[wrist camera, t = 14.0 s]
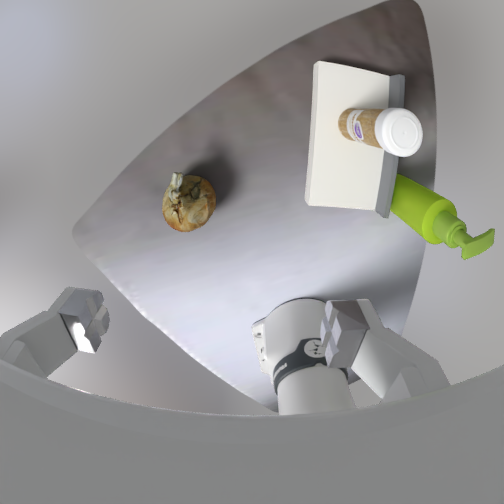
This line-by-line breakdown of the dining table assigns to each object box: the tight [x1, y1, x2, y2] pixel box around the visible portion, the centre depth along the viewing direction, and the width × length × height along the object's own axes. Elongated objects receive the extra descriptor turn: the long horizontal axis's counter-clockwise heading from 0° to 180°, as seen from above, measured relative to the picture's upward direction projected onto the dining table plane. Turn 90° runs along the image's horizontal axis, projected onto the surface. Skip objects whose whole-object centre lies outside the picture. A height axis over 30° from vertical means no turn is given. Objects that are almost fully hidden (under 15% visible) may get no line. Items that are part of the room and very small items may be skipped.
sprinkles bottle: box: [338, 108, 423, 157], centre depth 25 cm, size 5×5×14 cm
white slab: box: [305, 61, 405, 218], centre depth 32 cm, size 20×11×6 cm, turn 178°
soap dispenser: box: [390, 173, 495, 260], centre depth 29 cm, size 6×7×20 cm
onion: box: [162, 172, 216, 232], centre depth 35 cm, size 8×8×8 cm
